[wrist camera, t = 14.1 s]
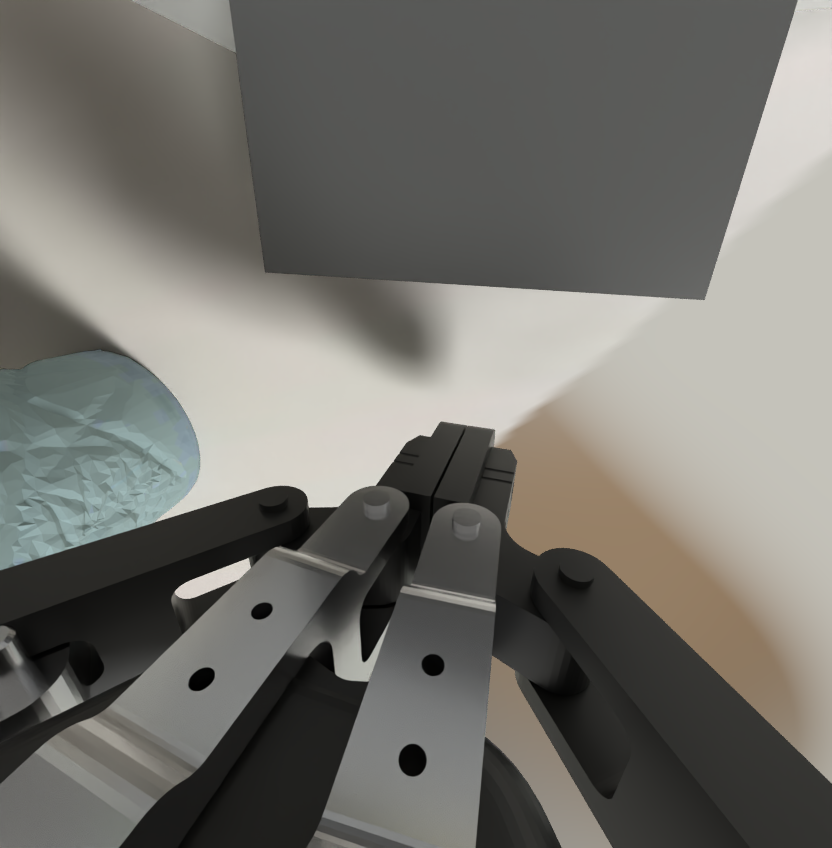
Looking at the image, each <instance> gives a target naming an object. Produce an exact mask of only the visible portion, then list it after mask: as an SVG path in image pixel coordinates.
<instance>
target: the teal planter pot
mask: <svg viewBox="0 0 832 848" xmlns="http://www.w3.org/2000/svg"><path fill="white" fill-rule="evenodd" d="M199 470H200V454H199V447H198V442H197V439H196V435H195V432H194V430H193V428H192V425H191V423H190V421H189V419H188V417H187V415H186V414H185V412H184V410H183V408H182V407H181V405H180V404H179V402H178V401H177V399H176V398H175V397H174V396H173V395H172V393H171V392H170V391H169V390H168V389H167V387H166V386H165V385H164V384H163V383H162V382H161V381H160V380H159V379H158V378H157V377H155V376H154V375H153V374H152V373H150V372H149V371H148V370H147V369H145V368H144V367H142V366H141V365H139V364H138V363H136V362H135V361H133V360H132V359H130V358H128V357H125V356H122V355H119V354H116V353H112V352H109V351H108V352H103V351H102V350H101V349H99V350H94V351H83V352H78V353H74V354H69V355H64V356H59V357H54V358H49V359H44V360H39V361H35V362H32V363H30V364H28V365H26V366H25V367H24V368H22V369H9V370H8V369H0V570H3V569H6V568H9V567H13V566H16V565H19V564H22V563H25V562H29V561H32V560H35V559H38V558H42V557H45V556H48V555H51V554H55V553H58V552H61V551H64V550H68V549H71V548H74V547H77V546H81V545H84V544H87V543H90V542H93V541H97V540H100V539H103V538H106V537H110V536H113V535H116V534H119V533H123V532H126V531H129V530H132V529H136V528H139V527H142V526H145V525H148V524H152V523H154V522H155V521H156V520H157V519H158V518H159V517H160V516H162V515H163V514H164V513H166V512H167V511H169V510H170V509H171V508H172V507H173V506H175V505H176V504H177V503H178V502H179V501H180V500H182V499H183V498H184V497H185V496H186V495H187V494H188V492H189V491H190V490H191V488H192V487H193V485H194V484H195V482H196V480H197V478H198V474H199Z"/></svg>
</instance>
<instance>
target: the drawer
mask: <svg viewBox="0 0 832 848" xmlns="http://www.w3.org/2000/svg"><path fill="white" fill-rule="evenodd" d="M131 1H133V2H135V3H137V4H139V5H141V6H143V7H145V8H147V9H149V10H151V11H153V12H155V13H157V14H159V15H161V16H163V17H165V18H167V19H169V20H171V21H173V22H175V23H177V24H179V25H181V26H183V27H185V28H187V29H189V30H191V31H193V32H195V33H197V34H199V35H201V36H203V37H205V38H207V39H209V40H211V41H213V42H215V43H217V44H218V45H220V46H222V47H224V48H226V49H228V50H230V51H232V52H234V53H236V57H237V64H238V72H239V79H240V87H241V94H242V102H243V109H244V117H245V124H246V132H247V139H248V147H249V155H250V162H251V170H252V177H253V185H254V192H255V200H256V207H257V215H258V222H259V230H260V237H261V245H262V252H263V260H264V267H265V272H268V273H284V274H300V275H315V276H331V277H347V278H363V279H379V280H395V281H411V282H427V283H442V284H458V285H474V286H490V287H506V288H522V289H538V290H553V291H569V292H585V293H601V294H617V295H633V296H649V297H665V298H680V299H697V300H705V296H706V293H707V289H708V287H709V283H710V280H711V277H712V274H713V271H714V268H715V264H716V261H717V258H718V255H719V252H720V248H721V245H722V242H723V239H724V236H725V232H726V229H727V226H728V223H729V219H730V216H731V213H732V210H733V207H734V203H735V200H736V197H737V194H738V191H739V187H740V184H741V181H742V178H743V175H744V171H745V168H746V165H747V162H748V159H749V155H750V152H751V149H752V146H753V143H754V139H755V136H756V133H757V130H758V127H759V123H760V120H761V117H762V114H763V111H764V107H765V104H766V101H767V98H768V94H769V91H770V88H771V85H772V82H773V78H774V75H775V72H776V69H777V66H778V62H779V59H780V56H781V53H782V50H783V46H784V43H785V40H786V37H787V34H788V30H789V27H790V24H791V21H792V18H793V14H794V12H800V11H811V10H821V9H832V0H131Z"/></svg>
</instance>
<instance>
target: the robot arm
mask: <svg viewBox="0 0 832 848" xmlns="http://www.w3.org/2000/svg"><path fill="white" fill-rule="evenodd" d="M494 439H495V430H493V429H487V428H480V427H474V426H468V427H467V425H460V424H454V423H447V422H440V423H439V425H438V426H437V428H436V430H435V431H434V433H433V434H432V436H431V437H427V436H421V435H420V436H418V437H416V438H414V439H412V440H411V441H409V442H407V443H406V444H405V446H404V447H403V449H402V450H401V451H400V454H398V456H397V457H396V458H395V460H394V462H393V463H392V464H391V465H390V467H389V468H388V470H387V471H386V472H385V474H384V475H383V476H382V478H381V479H380V481H379V482H378V483H377V485H376V486H369V487H365V488H362V489H359V490H357V491H355V492H353V493H352V494H351V495H350V496H348V497H347V499H346V500H345V501H344V502H343V503H342V504H341V505H340V506H339V507H324V508H309V507H308V499H307V496H306V494H305V493H304V492H303V491H301V490H300V489H297V488H295V487H290V486H274V487H269V488H265V489H262V490H258V491H255V492H252V493H249V494H246V495H242V496H239V497H236V498H233V499H229V500H226V501H223V502H220V503H216V504H213V505H210V506H207V507H203V508H200V509H197V510H194V511H191V512H187V513H184V514H181V515H178V516H174V517H171V518H168V519H165V520H161V521H158V522H155V523H152V524H148V525H145V526H142V527H139V528H136V529H132V530H129V531H126V532H123V533H119V534H116V535H113V536H110V537H106V538H103V539H100V540H97V541H93V542H90V543H87V544H84V545H81V546H77V547H74V548H71V549H68V550H64V551H61V552H58V553H55V554H51V555H48V556H45V557H42V558H38V559H35V560H32V561H29V562H25V563H22V564H19V565H16V566H13V567H9V568H6V569H3V570H0V848H561V845H560V843H559V841H558V839H557V837H556V835H555V833H554V831H553V828H552V826H551V824H550V822H549V820H548V818H547V816H546V814H545V812H544V810H543V808H542V806H541V804H540V802H539V801H538V799H537V798H536V796H535V794H534V793H533V791H532V789H531V787H530V786H529V784H528V782H527V781H526V780H525V778H524V777H523V776H522V774H521V773H520V772H519V770H518V769H517V768H516V766H515V765H514V764H513V763H512V762H511V761H510V760H509V759H508V757H507V756H506V755H505V754H504V753H502V751H501V750H500V749H499V748H498V747H497V746H495V745H494V744H493V743H492V742H491V741H490V740H489V739H487V738H486V737H485V729H486V718H487V706H488V705H487V704H488V694H489V682H490V671H491V659H492V656H494V657H496V658H497V659H499V660H500V661H502V662H503V663H505V664H506V665H508V666H509V667H511V668H512V669H514V670H515V676H516V680H517V683H518V685H519V687H520V689H521V691H522V693H523V694H524V696H525V698H526V700H527V701H528V703H529V705H530V707H531V708H532V710H533V712H534V713H535V715H536V717H537V718H538V720H539V722H540V724H541V725H542V727H543V729H544V731H545V732H546V734H547V736H548V737H549V739H550V741H551V743H552V744H553V746H554V748H555V749H556V751H557V752H558V755H559V756H560V758H561V760H562V761H563V763H564V765H565V767H566V768H567V770H568V772H569V773H570V775H571V777H572V779H573V780H574V782H575V784H576V785H577V787H578V789H579V790H580V792H581V794H582V796H583V797H584V799H585V801H586V802H587V804H588V806H589V808H590V809H591V811H592V813H593V815H594V816H595V818H596V820H597V821H598V823H599V825H600V827H601V828H602V830H603V832H604V833H605V835H606V837H607V839H608V840H609V842H610V844H611V845H612V847H613V848H832V784H831V783H830V782H829V781H828V780H827V779H826V778H825V777H824V776H823V775H822V774H821V773H820V772H819V771H818V770H817V769H816V768H815V767H814V766H813V765H812V764H811V763H810V762H808V760H807V759H806V758H805V757H804V756H803V755H802V754H801V753H799V752H798V751H797V750H796V749H795V748H794V747H793V746H792V745H791V744H790V743H789V742H788V741H787V740H786V739H785V738H784V737H783V736H782V735H781V734H780V733H779V732H778V731H777V730H775V728H774V727H772V725H771V724H769V723H768V722H767V721H766V720H765V719H764V718H763V717H762V716H761V715H760V714H759V713H758V712H757V711H756V710H755V709H754V708H753V707H752V706H751V705H750V704H749V703H748V702H747V701H746V700H745V699H744V698H743V697H742V696H741V695H740V694H738V693H737V692H736V691H735V690H734V689H733V688H732V687H731V686H730V685H729V684H728V683H727V682H726V681H725V680H724V679H723V678H722V677H721V676H720V675H719V674H718V673H717V672H716V671H715V670H714V669H713V668H712V667H711V666H709V664H708V663H707V662H705V661H704V660H703V659H702V658H701V657H700V656H699V655H698V654H697V653H696V652H695V651H694V650H693V649H692V648H691V647H690V646H689V645H688V644H687V643H686V642H685V641H684V640H683V639H681V637H680V636H679V635H677V634H676V632H674V631H673V630H672V629H671V628H670V627H669V626H668V625H667V624H666V623H665V622H664V621H663V620H662V619H661V618H660V617H659V616H658V615H657V614H656V613H655V612H654V611H653V610H652V609H651V608H650V607H649V606H647V604H645V603H644V602H643V601H642V600H641V599H640V598H639V597H638V596H637V595H636V594H635V593H634V592H633V591H632V590H631V589H630V588H629V587H628V586H627V585H626V584H625V583H624V582H623V581H622V580H621V579H619V578H618V576H617V575H616V574H615V573H613V572H612V571H611V570H610V569H609V568H608V567H607V566H606V565H605V564H604V563H603V562H601V561H600V560H598V559H597V558H595V557H593V556H592V555H590V554H587V553H585V552H582V551H578V550H575V549H570V548H556V549H551V550H548V551H545V552H544V553H542V554H541V555H540V556H537V555H535V554H533V553H531V552H529V551H527V550H525V549H524V548H522V547H521V546H519V545H518V544H517V543H516V542H514V541H513V539H512V538H511V537H510V536H509V534H508V533H507V531H506V528H507V522H508V517H509V512H510V507H511V500H512V493H513V486H514V478H515V472H516V465H517V460H516V459H515V457H514V455H513V453H512V451H511V450H506V449H500V448H494ZM247 558H249V561H250V566H251V568H250V569H249V570H248V571H247V572H246V573H245V574H244V575H243V576H242V577H241V578H240V579H239V580H237V581H235V582H232V583H230V584H227V585H225V586H222V587H220V588H217V589H215V590H212V591H210V592H208V593H205V594H203V595H200V596H198V597H195V598H191V599H182V598H179V597H178V596H176V595H175V593H174V592H175V590H176V589H177V588H178V587H179V586H181V585H182V584H184V583H185V582H187V581H190V580H192V579H195V578H197V577H200V576H203V575H205V574H208V573H210V572H213V571H216V570H218V569H221V568H223V567H226V566H229V565H231V564H234V563H236V562H239V561H242V560H244V559H247ZM372 670H373V671H372ZM371 672H372V674H371ZM370 675H371V677H370ZM369 677H370V680H369V682H368V679H369Z"/></svg>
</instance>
